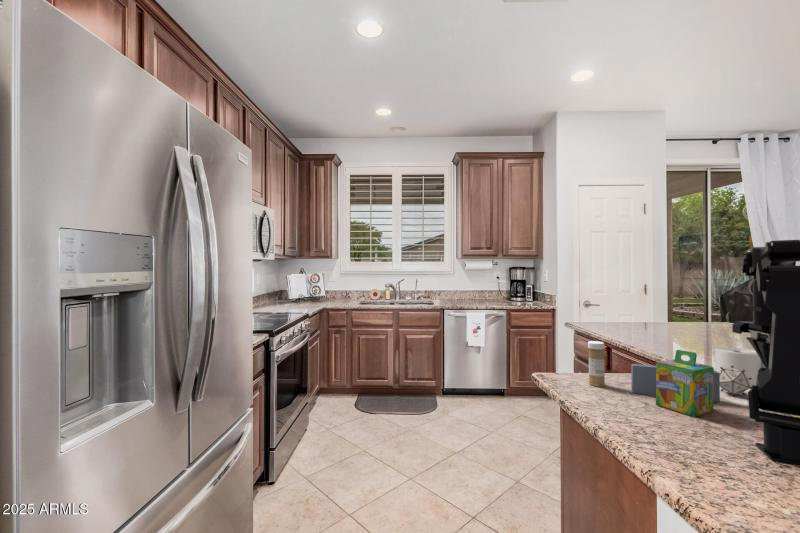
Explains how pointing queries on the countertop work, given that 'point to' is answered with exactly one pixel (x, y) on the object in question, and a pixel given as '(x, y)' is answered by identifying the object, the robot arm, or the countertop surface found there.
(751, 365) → the toilet tissue
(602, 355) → the sprinkles bottle
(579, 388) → the countertop surface
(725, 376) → the game die
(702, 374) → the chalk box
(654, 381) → the board
